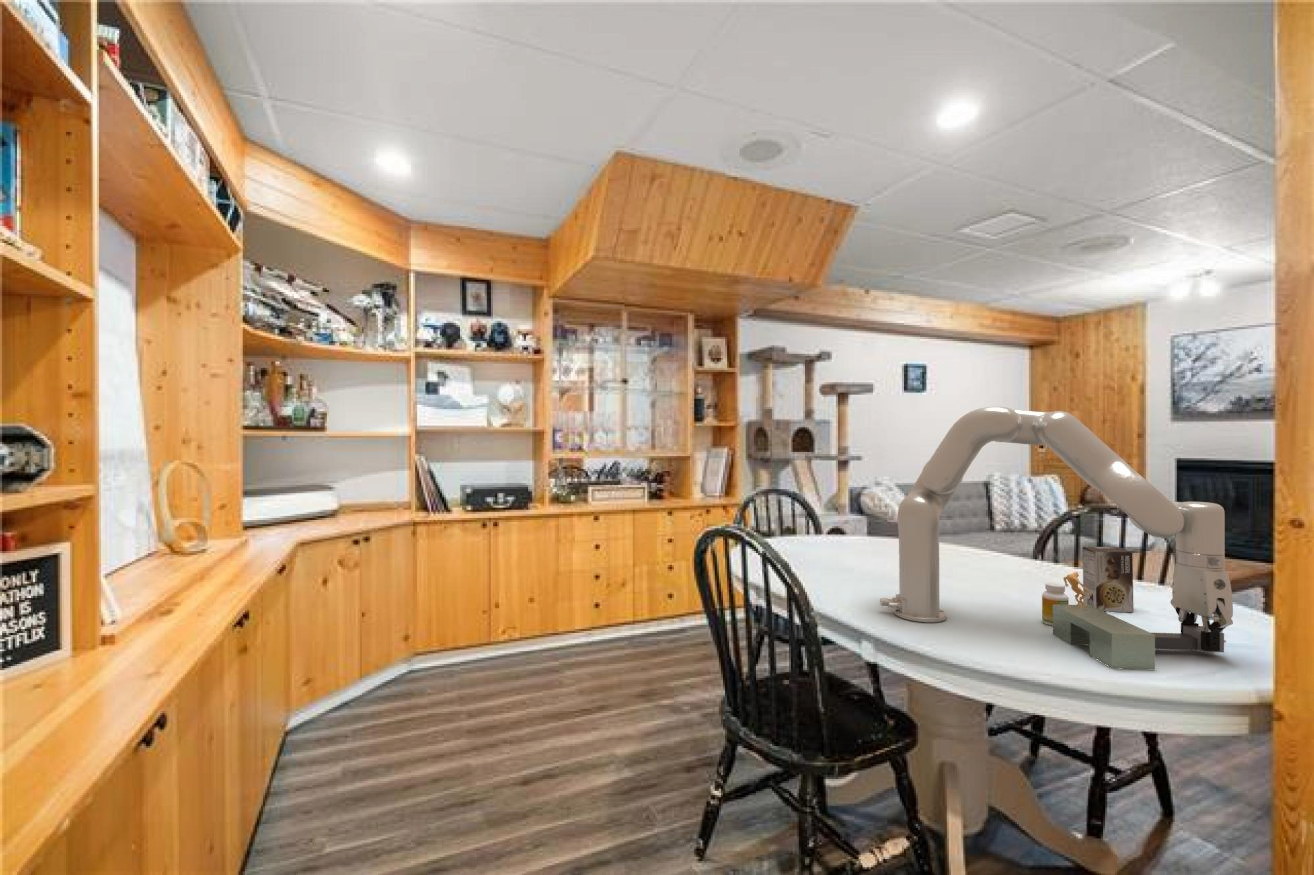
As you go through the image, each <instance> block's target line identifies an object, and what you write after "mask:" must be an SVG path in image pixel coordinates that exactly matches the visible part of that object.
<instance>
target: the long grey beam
mask: <svg viewBox="0 0 1314 875" xmlns="http://www.w3.org/2000/svg"><path fill="white" fill-rule="evenodd" d="M1201 631H1204V628H1203V625H1199V626H1183V633H1181V632H1180V633H1177V632H1151V633H1152V634H1154V635H1155V650H1175V651H1176V650H1177V651H1178V650H1179V651H1198V652H1201V653H1224V652H1225V644H1227V640H1225V633H1224V632H1222V633H1220V651H1204V650H1202V649H1201Z"/></svg>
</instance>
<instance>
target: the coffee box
mask: <svg viewBox="0 0 1314 875" xmlns="http://www.w3.org/2000/svg"><path fill="white" fill-rule="evenodd" d="M1133 561H1134V560H1133V551H1130V550H1128V549H1125V548H1123V547H1118V546H1082V584H1083V585H1084V587H1085V588H1086V589H1087V590H1088V591H1089V592H1090V594H1091V596H1090V595H1089V593H1088V592H1087V591H1086V590H1085V589H1084V588H1083V587H1082V591H1083V592H1084V593H1085V594H1086V595H1085V597H1084V598H1083V599H1082V602H1083V603H1084V604H1087V605H1090V606H1092V607H1094V608H1097V609H1099V610H1101V611H1103V612H1104V611H1108V612H1109V613H1111V612H1112V613H1116V612H1117V613H1134V612H1135V611H1134V570H1133V568H1134V567H1133V565H1134V562H1133Z"/></svg>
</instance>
